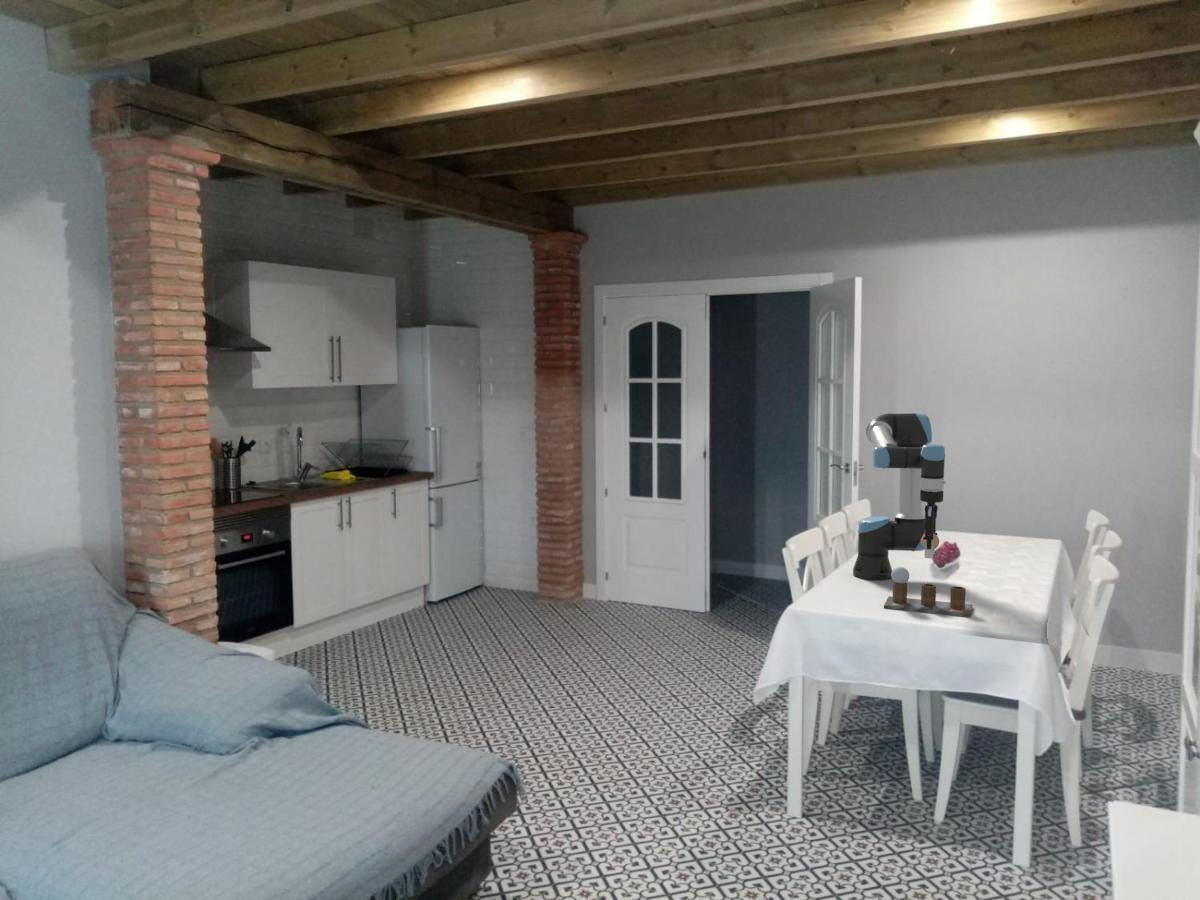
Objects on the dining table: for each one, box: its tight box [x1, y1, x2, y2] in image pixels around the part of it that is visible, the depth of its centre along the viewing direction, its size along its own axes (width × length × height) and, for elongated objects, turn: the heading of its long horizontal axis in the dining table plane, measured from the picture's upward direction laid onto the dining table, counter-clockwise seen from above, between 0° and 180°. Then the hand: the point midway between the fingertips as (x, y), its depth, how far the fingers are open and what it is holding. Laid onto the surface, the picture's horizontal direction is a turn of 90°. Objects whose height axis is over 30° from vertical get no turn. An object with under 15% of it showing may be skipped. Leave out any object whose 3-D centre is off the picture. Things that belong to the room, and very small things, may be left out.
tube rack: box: [883, 581, 973, 618], centre depth 318 cm, size 28×13×8 cm, turn 65°
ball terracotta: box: [921, 533, 940, 550], centre depth 316 cm, size 6×6×6 cm
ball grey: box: [891, 566, 910, 584], centre depth 321 cm, size 6×6×6 cm
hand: (929, 555), depth 316 cm, fingers closed on ball terracotta, 6 cm apart
